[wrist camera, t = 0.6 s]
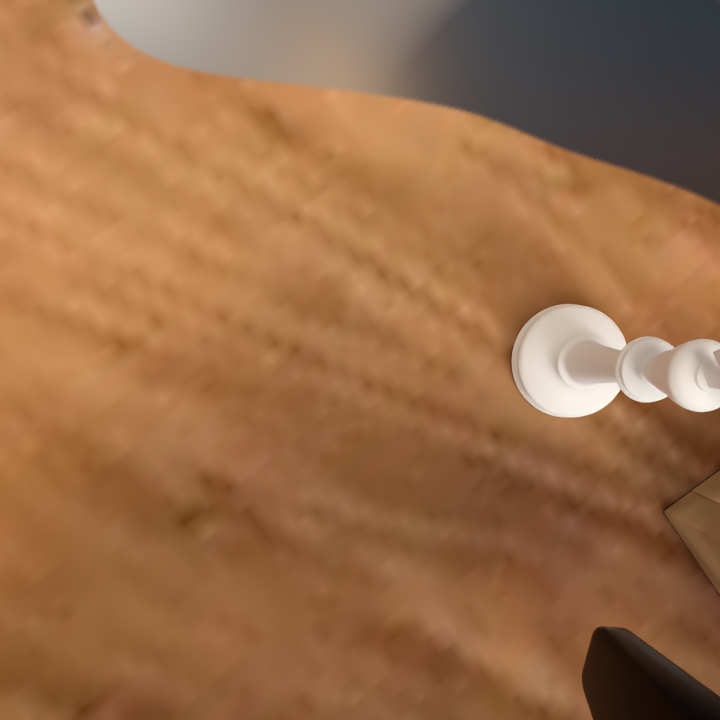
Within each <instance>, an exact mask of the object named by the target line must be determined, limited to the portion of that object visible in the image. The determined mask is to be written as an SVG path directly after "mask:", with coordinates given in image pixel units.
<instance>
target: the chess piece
mask: <svg viewBox="0 0 720 720" xmlns="http://www.w3.org/2000/svg"><path fill="white" fill-rule="evenodd" d="M511 363H512V373H513V377H514V380H515V383H516V385H517V387H518V389H519V391H520V392H521V394H522V395H523V397H524V398H525V399H526V400H527V401H528V402H529V403H530V404H531V405H532V406H534V407H535V408H537V409H538V410H540V411H542V412H544V413H546V414H549V415H553V416H558V417H582V416H586V415H589V414H592V413H595V412H597V411H599V410H600V409H602V408H603V407H605V406H606V405H607V404H609V403H610V402H611V401H612V400H613V399H614V398H615V396H616V395H617V394H618V392H619V391H620V389H621V390H622V391H623V393H624V394H626V395H627V396H628V397H629V398H631V399H633V400H635V401H639V402H654V401H658V400H661V399H664V398H666V397H667V396H668V397H669V398H670V399H671V400H672V401H674V402H675V403H677V404H678V405H680V406H681V407H683V408H685V409H688V410H691V411H696V412H707V411H712V410H715V409H717V408H719V407H720V343H719V342H717V341H714V340H710V339H696V340H692V341H688V342H686V343H683V344H681V345H679V346H677V347H675V348H674V347H673V346H672V345H671V344H669V343H668V342H666V341H664V340H662V339H660V338H657V337H651V336H646V337H640V338H637V339H635V340H633V341H631V342H629V343H628V344H627V345H626V341H625V339H624V336H623V334H622V333H621V331H620V329H619V328H618V326H617V325H616V324H615V323H614V322H613V321H612V320H611V319H610V318H609V317H608V316H607V315H605V314H604V313H602V312H600V311H598V310H596V309H594V308H591V307H587V306H582V305H576V304H561V305H555V306H552V307H549V308H546V309H544V310H542V311H540V312H539V313H537V314H536V315H534V316H533V317H532V318H531V319H530V320H529V321H528V322H527V323H526V324H525V325H524V326H523V328H522V329H521V331H520V332H519V334H518V336H517V338H516V341H515V343H514V347H513V351H512V361H511Z"/></svg>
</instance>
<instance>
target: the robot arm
mask: <svg viewBox="0 0 720 720" xmlns="http://www.w3.org/2000/svg"><path fill="white" fill-rule="evenodd" d="M582 684H583V689H584V693H585V696H586V699H587V702H588V705H589V708H590V711H591V714H592V717H593V720H720V696H718V695H717V694H715V693H714V692H713V691H711V690H710V689H709V688H707V687H706V686H705V685H703V684H702V683H700V682H699V681H698V680H696V679H695V678H694V677H692V676H691V675H689V674H688V673H687V672H685V671H684V670H683V669H681V668H680V667H679V666H677V665H676V664H674V663H673V662H672V661H670V660H669V659H668V658H666V657H665V656H663V655H662V654H661V653H659V652H658V651H657V650H655V649H654V648H653V647H651V646H650V645H648V644H647V643H646V642H644V641H643V640H642V639H640V638H639V637H637V636H636V635H635V634H633V633H632V632H631V631H629V630H627V629H624V628H617V627H604V626H601V627H598V628H596V629H595V631H594V632H593V635H592V638H591V641H590V645H589V649H588V652H587V656H586V660H585V663H584V667H583V672H582Z"/></svg>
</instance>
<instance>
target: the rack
mask: <svg viewBox="0 0 720 720" xmlns="http://www.w3.org/2000/svg"><path fill="white" fill-rule="evenodd" d="M664 514H665V515H666V517H667V518H668V520H669V521H670V523H671V524H672V526H673V527H674V528H675V530H676V531H677V533H678V534H679V536H680V537H681V539H682V540H683V542H684V543H685V545H686V546H687V547H688V549H689V550H690V552H691V553H692V555H693V556H694V558H695V559H696V561H697V562H698V564H699V565H700V566H701V568H702V569H703V571H704V572H705V574H706V575H707V577H708V578H709V580H710V581H711V582H712V584H713V585H714V587H715V588H716V590H717V591H718V593H719V594H720V470H719V471H718V472H716V473H715V474H714V475H712V476H711V477H709V478H708V479H707V480H705V481H704V482H703V483H701V484H700V485H699V486H697V487H696V488H694V489H693V490H692V492H689V493H688V494H687V495H685V496H684V497H683V498H681V499H680V500H678V501H677V502H676V503H674V504H673V505H672V506H670V507H669V508H668V509H666V510H665V511H664Z"/></svg>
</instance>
